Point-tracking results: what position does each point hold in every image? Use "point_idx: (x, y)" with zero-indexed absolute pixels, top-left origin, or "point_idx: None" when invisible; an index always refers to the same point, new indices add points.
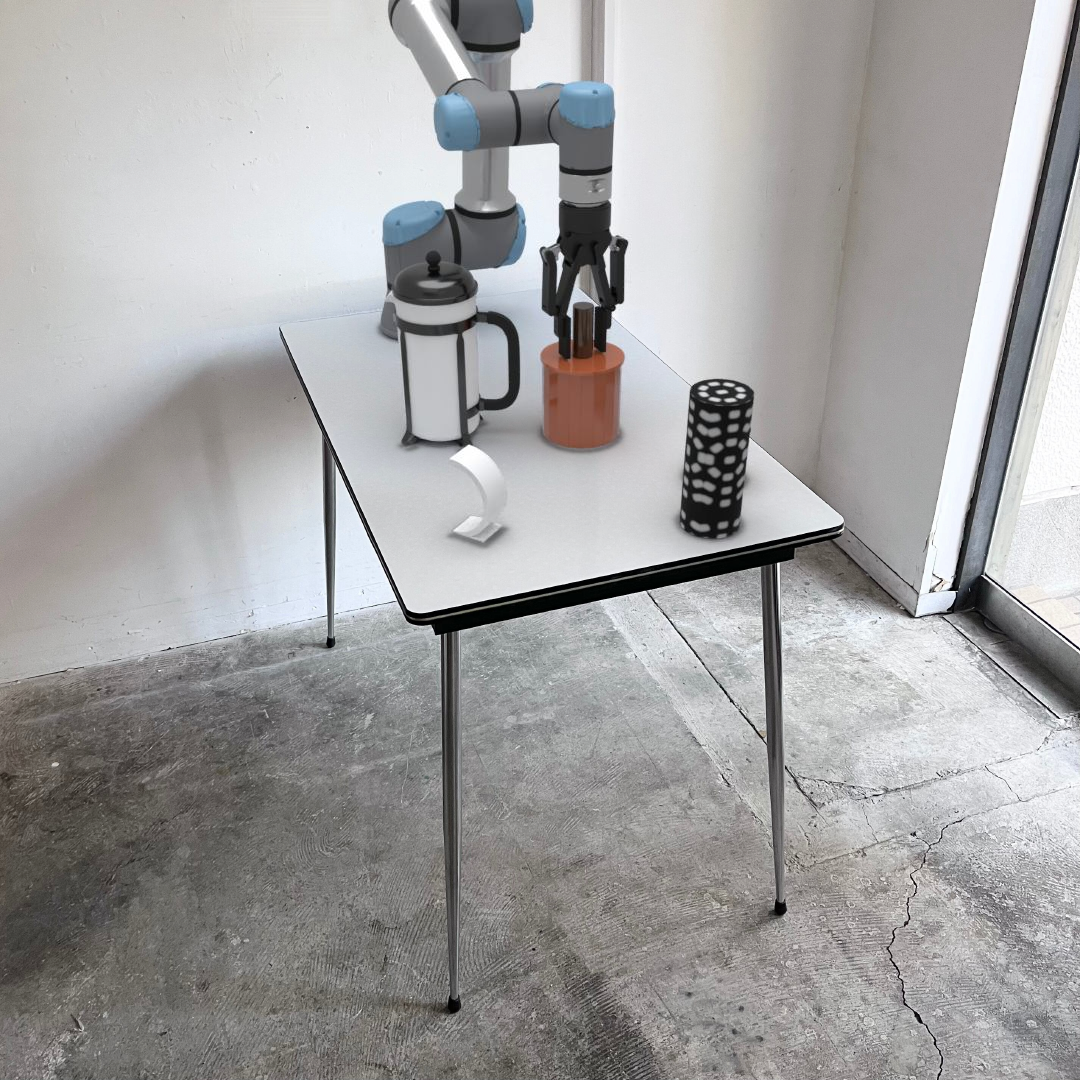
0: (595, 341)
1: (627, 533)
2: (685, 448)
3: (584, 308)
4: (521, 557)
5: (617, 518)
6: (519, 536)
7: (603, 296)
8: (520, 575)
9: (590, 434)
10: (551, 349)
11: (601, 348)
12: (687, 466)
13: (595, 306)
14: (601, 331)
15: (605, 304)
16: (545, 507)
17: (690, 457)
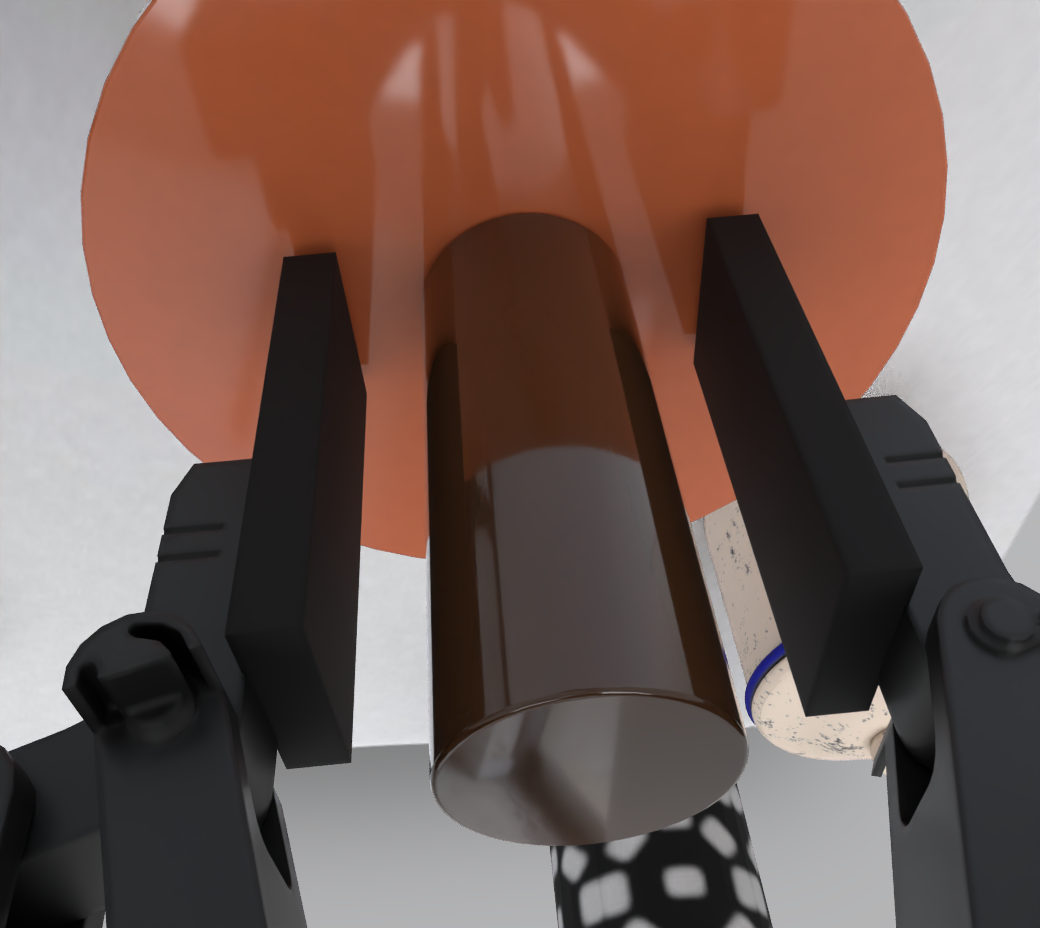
0: (719, 291)
1: (368, 657)
2: (569, 901)
3: (549, 837)
4: (22, 681)
5: (367, 603)
6: (19, 614)
7: (900, 907)
8: (16, 727)
9: None
10: (242, 68)
11: (703, 380)
12: (553, 869)
13: (860, 574)
14: (743, 504)
15: (891, 781)
16: (130, 513)
17: (557, 917)
